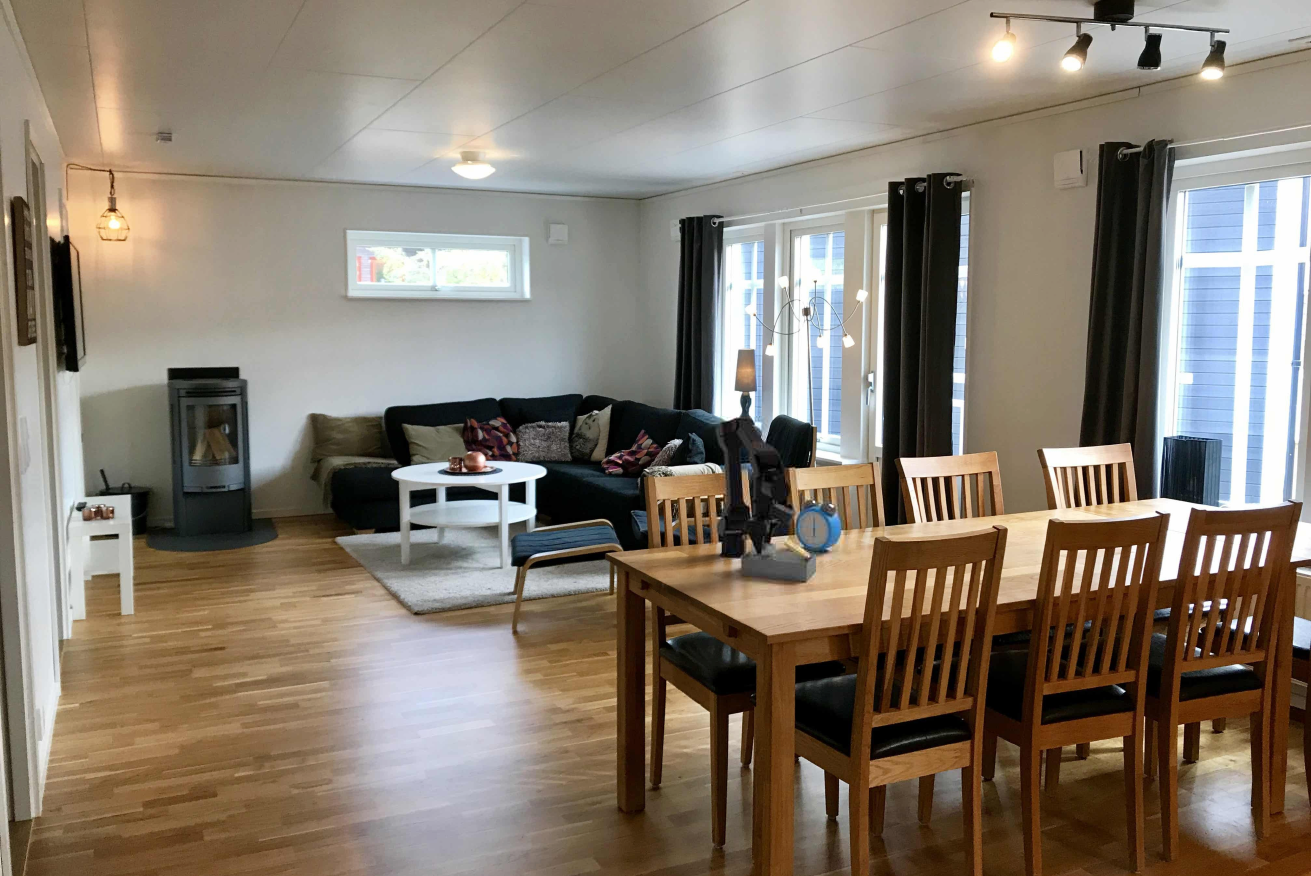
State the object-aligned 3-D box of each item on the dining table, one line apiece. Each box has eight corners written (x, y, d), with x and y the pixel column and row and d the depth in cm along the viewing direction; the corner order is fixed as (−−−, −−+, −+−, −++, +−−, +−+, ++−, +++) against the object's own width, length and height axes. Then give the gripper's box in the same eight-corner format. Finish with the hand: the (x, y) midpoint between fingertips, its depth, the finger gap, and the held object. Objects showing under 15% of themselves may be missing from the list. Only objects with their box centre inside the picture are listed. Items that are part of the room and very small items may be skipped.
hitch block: (741, 575, 281) (741, 557, 280) (752, 565, 292) (753, 548, 292) (806, 582, 275) (807, 563, 274) (815, 571, 286) (816, 554, 285)
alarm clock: (793, 548, 315) (794, 499, 313) (805, 544, 319) (806, 496, 318) (830, 554, 306) (831, 505, 304) (841, 551, 311) (843, 502, 309)
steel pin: (750, 570, 285) (750, 544, 284) (752, 568, 288) (753, 541, 287) (772, 572, 283) (773, 545, 282) (775, 570, 285) (775, 543, 284)
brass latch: (783, 544, 280) (785, 542, 280) (787, 541, 284) (788, 539, 284) (806, 560, 278) (808, 558, 278) (810, 557, 282) (812, 554, 282)
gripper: (785, 502, 271) (784, 561, 273) (800, 491, 288) (799, 546, 290) (744, 499, 275) (743, 557, 277) (761, 488, 292) (760, 543, 294)
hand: (763, 550), depth 284 cm, fingers open, 8 cm apart
